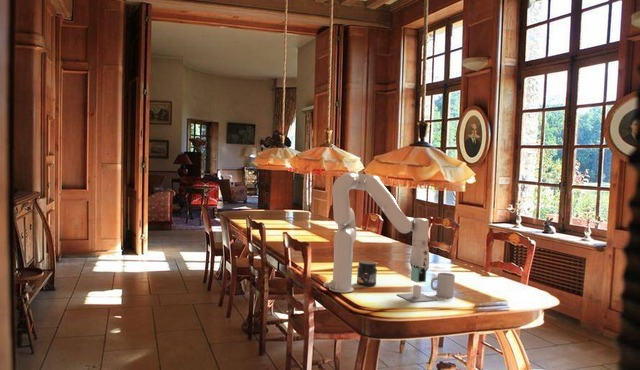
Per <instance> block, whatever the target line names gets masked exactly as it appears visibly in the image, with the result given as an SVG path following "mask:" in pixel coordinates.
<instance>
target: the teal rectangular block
mask: <svg viewBox="0 0 640 370" xmlns="http://www.w3.org/2000/svg"><path fill="white" fill-rule="evenodd" d="M410 267H411V266H410ZM410 270H411V271H410V273H411V274H410V281H411V282H412V281H413V282H415V283H425V282H427V272H426V273H425V281H419V273H420V268H419V267H416V266H415V267H411V269H410ZM422 270H423V268H422Z"/></svg>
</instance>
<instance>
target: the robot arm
mask: <svg viewBox="0 0 640 370" xmlns="http://www.w3.org/2000/svg"><path fill="white" fill-rule="evenodd" d="M332 185H333V186H332V190H331V192H332V193H331V196H332V209H333V210H332V211H333V220H334V222H335V224H336V225H337V231H336V232H335V234H334V237H333V264H332V265H333V267H332V268H333V270H332V271H333V272H332V280H330V281H329V282H323V286H324V288H325V287H326V288H327V287H328V288H329V291H332V292H334V293H341V294H342V293H344V294H347V293H353V292H354V291H355V288H354V286H352V279H353V278H352V275H353V273H352V272H353V255H354V253H353V251H354V249H353V248H354V247H353V246H354V242H355V241H356V239H357V225H356V216H355V211H354V210H353V208H352V207H351V203H350V194H349V193H350V190H357V191H358V190H360V191H365V192H367V193H368V195H369V196H370V197H371V198H372V199H373V200H374V202H375V203H376V204H377V206H378V207H379V208H380V209H381V211H382V213H383V214H384V215H385V216H386V217H387V220H389V222H390V223H391V224H392V226H394V228H395V229H396V230H397V231H398V232H399V233H401V234H408V233H410V232H412V237H411V238H412V240H411V249H410V260H409V265H410V267H419V268H420V273H419V281H425V273H426V274H427V271H428V270H429V268H430V267H429V266H430V251H429V246H428V243H429V242H428V241H429V225H430V223H429V222H430V221H429V219H427V218H423V217H416V218H415V217H412V216H411V217H409V216H406V214H405V213H404V211H402V209H401V208H400V207H399V205H398V204H397V201H396V199H395V197H394V195H393V194H392V193H391V192H390V191H389V189H388V188H387V187H386V186H385V185H384V184H383V182H382V179H381V178H380V176H378V175H374V174H373V175H372V174H366V173H359V172H345V173H343V174H341V175H340V176H339V177H338V178H336V180H334V183H333V184H332ZM422 268H423V270H422Z"/></svg>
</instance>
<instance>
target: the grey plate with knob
mask: <svg viewBox="0 0 640 370" xmlns="http://www.w3.org/2000/svg"><path fill="white" fill-rule="evenodd" d="M421 291H422V286H421V285H419V284H416V285H415V284H414V285H413V290H412V292H411V293H399V294H398V293H397V294H396V296H397V297H400V298H401V299H404V300H406V301H409V302H410V303H413V304H414V303H425V302H427V303H428V302H437V301H438V299H436V298H434V297H431V296H428V295H426V294H424V293H422V292H421Z"/></svg>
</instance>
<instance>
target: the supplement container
mask: <svg viewBox="0 0 640 370" xmlns="http://www.w3.org/2000/svg"><path fill="white" fill-rule="evenodd" d="M356 270H357V271H356V272H357V273H356V284H357V285H358V286H362V287H367V288H369V287H374V286H376V285H377V272H378V269H377V262H375V261H371V260H361V261H358V266H357V269H356Z"/></svg>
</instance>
